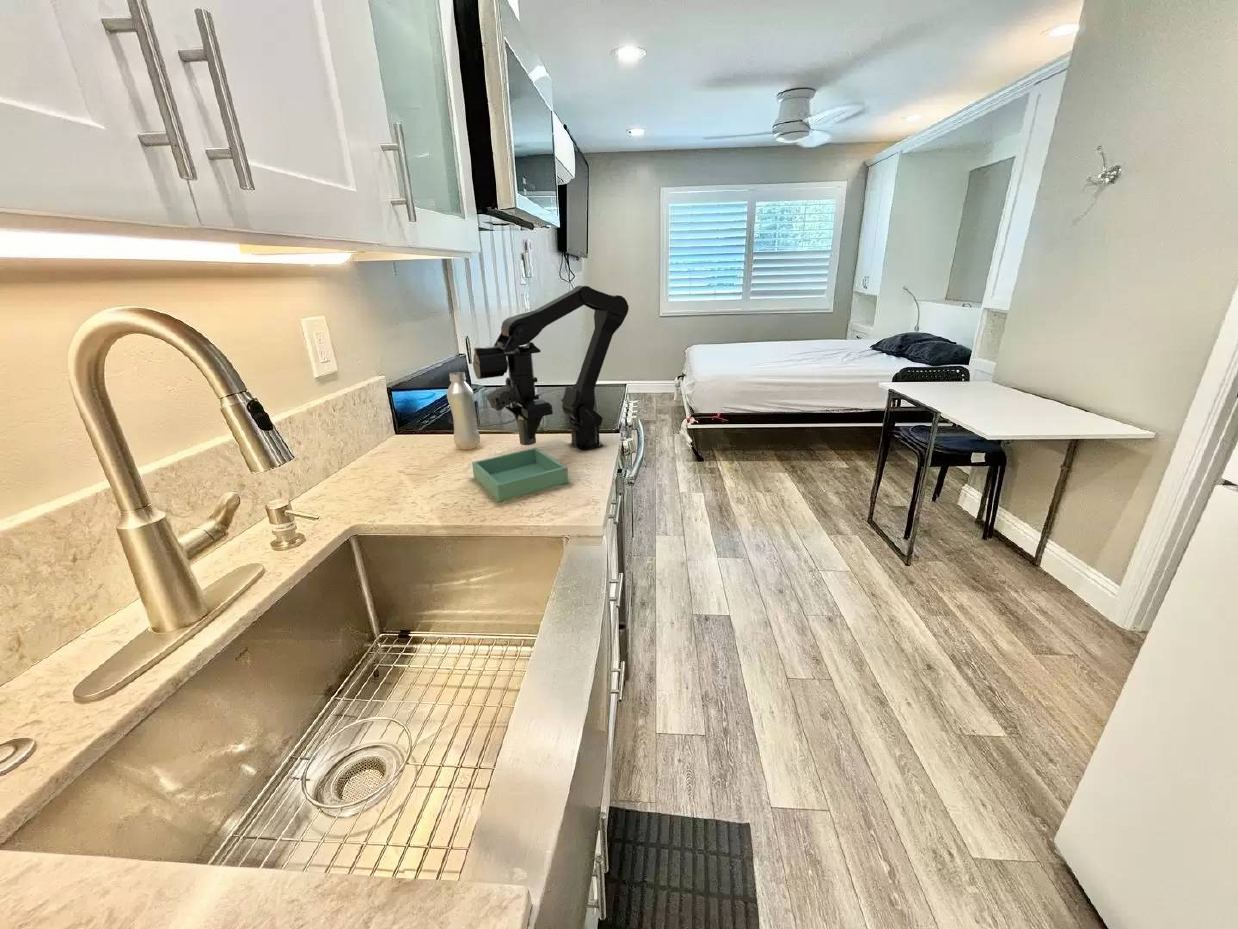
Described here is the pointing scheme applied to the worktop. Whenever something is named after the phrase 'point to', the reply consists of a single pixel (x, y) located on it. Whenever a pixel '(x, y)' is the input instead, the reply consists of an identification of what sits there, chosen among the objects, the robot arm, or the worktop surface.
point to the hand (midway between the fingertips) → (527, 436)
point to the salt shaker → (524, 433)
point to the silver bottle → (462, 412)
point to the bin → (519, 473)
